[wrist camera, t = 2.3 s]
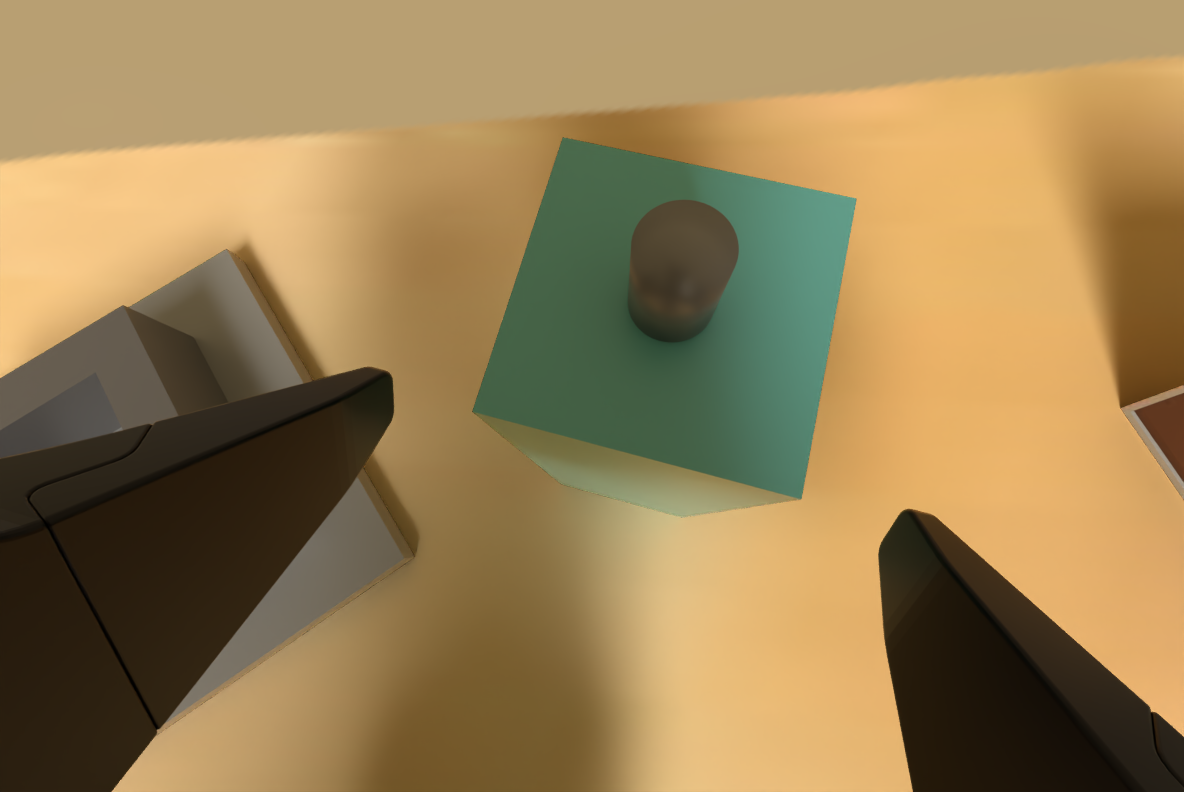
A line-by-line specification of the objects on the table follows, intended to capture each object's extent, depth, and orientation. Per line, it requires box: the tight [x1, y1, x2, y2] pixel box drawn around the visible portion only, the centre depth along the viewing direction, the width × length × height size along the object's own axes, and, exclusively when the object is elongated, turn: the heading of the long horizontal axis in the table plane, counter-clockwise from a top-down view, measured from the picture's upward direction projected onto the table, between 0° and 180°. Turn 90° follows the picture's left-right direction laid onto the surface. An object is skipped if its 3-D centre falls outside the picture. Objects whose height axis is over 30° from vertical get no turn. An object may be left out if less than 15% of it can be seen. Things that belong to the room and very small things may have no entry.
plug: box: [472, 137, 856, 517], centre depth 13 cm, size 4×4×14 cm
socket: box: [0, 249, 415, 735], centre depth 18 cm, size 14×14×4 cm
